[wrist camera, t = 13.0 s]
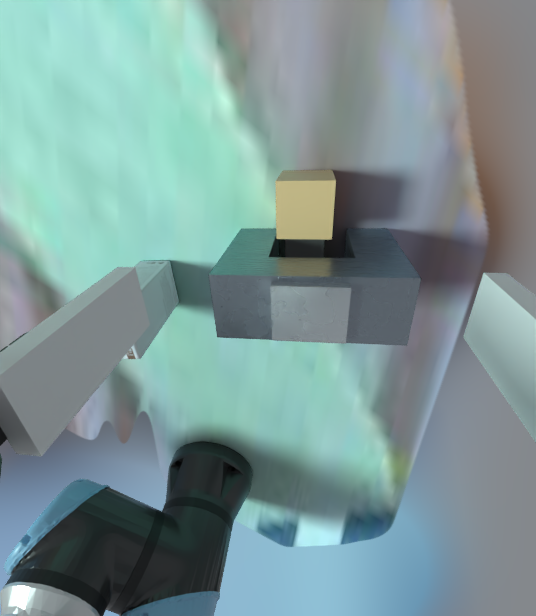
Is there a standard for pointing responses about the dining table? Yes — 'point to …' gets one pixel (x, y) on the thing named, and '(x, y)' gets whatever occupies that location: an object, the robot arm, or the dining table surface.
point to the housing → (315, 291)
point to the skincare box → (154, 301)
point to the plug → (305, 211)
